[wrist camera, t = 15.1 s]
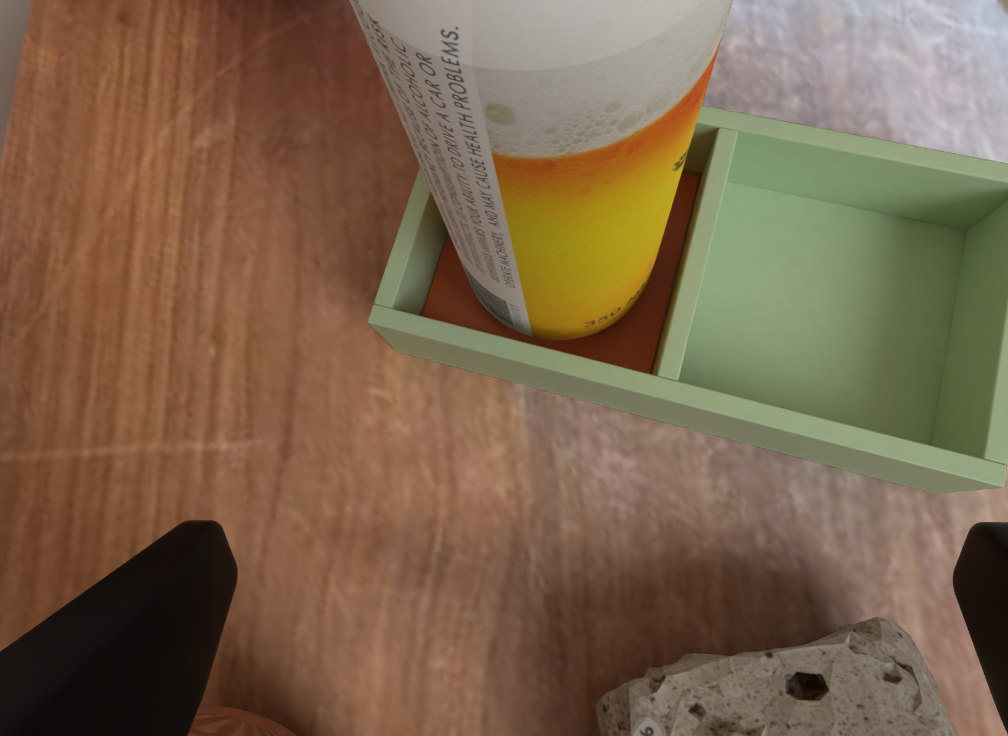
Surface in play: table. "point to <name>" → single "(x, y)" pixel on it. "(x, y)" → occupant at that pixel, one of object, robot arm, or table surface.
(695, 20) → the beer can
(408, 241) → the tray
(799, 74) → the table surface
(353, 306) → the table surface
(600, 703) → the stone
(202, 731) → the planter
